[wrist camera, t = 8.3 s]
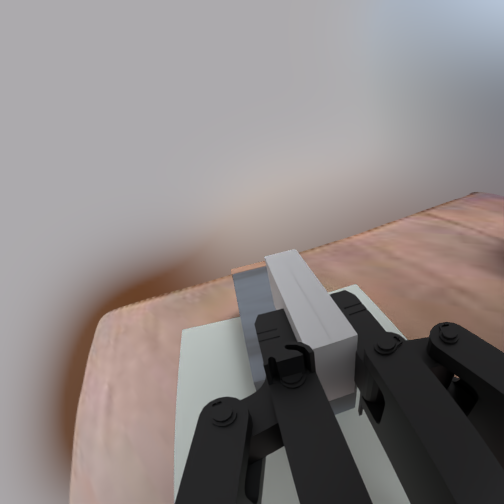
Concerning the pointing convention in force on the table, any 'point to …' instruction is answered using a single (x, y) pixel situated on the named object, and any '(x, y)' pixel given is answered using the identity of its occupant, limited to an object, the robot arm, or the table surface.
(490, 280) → the table surface
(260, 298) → the slate block
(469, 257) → the table surface
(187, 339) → the sage mat
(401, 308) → the table surface
